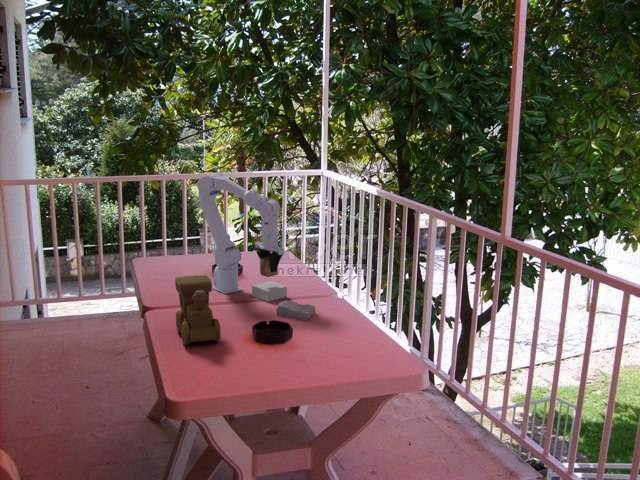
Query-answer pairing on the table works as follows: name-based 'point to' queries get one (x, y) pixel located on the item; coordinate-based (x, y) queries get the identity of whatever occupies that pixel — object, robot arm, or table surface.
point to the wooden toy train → (195, 310)
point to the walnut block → (266, 268)
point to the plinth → (269, 291)
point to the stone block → (295, 310)
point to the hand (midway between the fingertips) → (269, 270)
